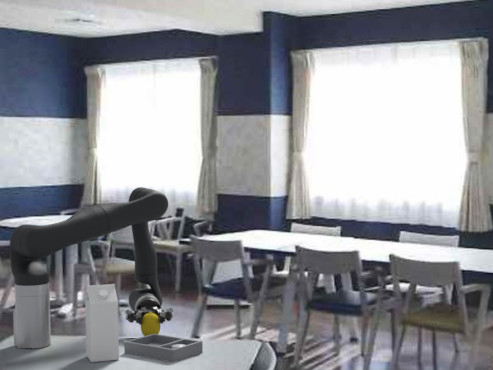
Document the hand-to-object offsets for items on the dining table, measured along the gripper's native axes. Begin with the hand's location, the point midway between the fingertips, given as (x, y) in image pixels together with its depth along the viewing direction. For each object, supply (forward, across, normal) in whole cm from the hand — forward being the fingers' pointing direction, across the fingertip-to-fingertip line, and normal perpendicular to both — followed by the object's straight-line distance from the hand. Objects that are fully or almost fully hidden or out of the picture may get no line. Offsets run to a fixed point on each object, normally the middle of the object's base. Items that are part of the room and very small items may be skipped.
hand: (151, 320), depth 231 cm
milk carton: (+16, -13, +6) cm, 22 cm away
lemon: (-3, 0, +6) cm, 7 cm away
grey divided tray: (+13, +2, +6) cm, 15 cm away
